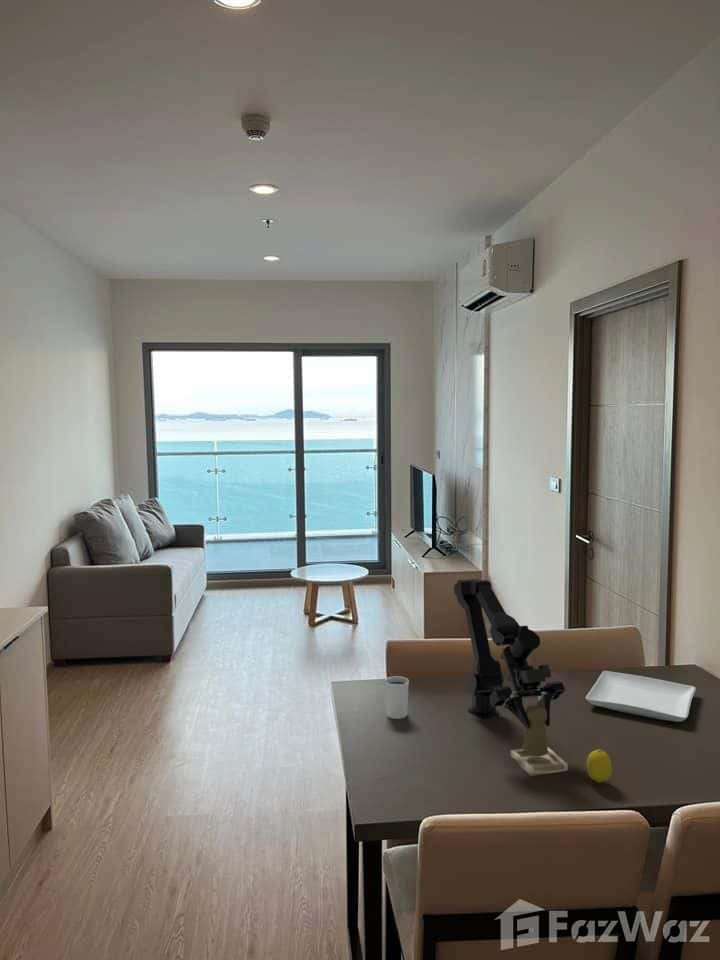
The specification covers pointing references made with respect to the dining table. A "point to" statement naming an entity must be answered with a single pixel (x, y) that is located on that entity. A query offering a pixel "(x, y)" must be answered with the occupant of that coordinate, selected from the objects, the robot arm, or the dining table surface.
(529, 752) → the olive green cylinder
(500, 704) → the robot arm
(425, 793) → the dining table surface
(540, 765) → the holder
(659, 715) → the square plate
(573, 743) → the dining table surface
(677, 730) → the dining table surface
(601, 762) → the lemon
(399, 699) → the drinking glass
